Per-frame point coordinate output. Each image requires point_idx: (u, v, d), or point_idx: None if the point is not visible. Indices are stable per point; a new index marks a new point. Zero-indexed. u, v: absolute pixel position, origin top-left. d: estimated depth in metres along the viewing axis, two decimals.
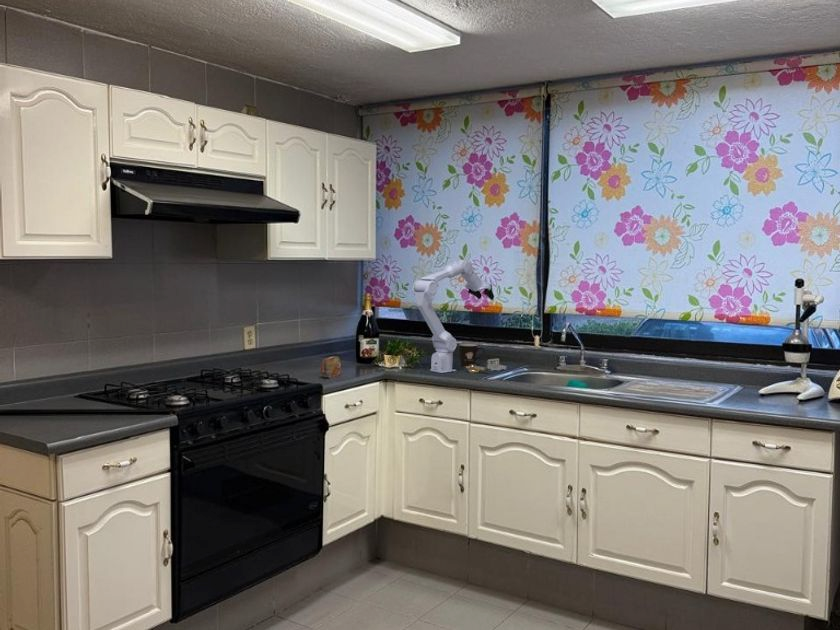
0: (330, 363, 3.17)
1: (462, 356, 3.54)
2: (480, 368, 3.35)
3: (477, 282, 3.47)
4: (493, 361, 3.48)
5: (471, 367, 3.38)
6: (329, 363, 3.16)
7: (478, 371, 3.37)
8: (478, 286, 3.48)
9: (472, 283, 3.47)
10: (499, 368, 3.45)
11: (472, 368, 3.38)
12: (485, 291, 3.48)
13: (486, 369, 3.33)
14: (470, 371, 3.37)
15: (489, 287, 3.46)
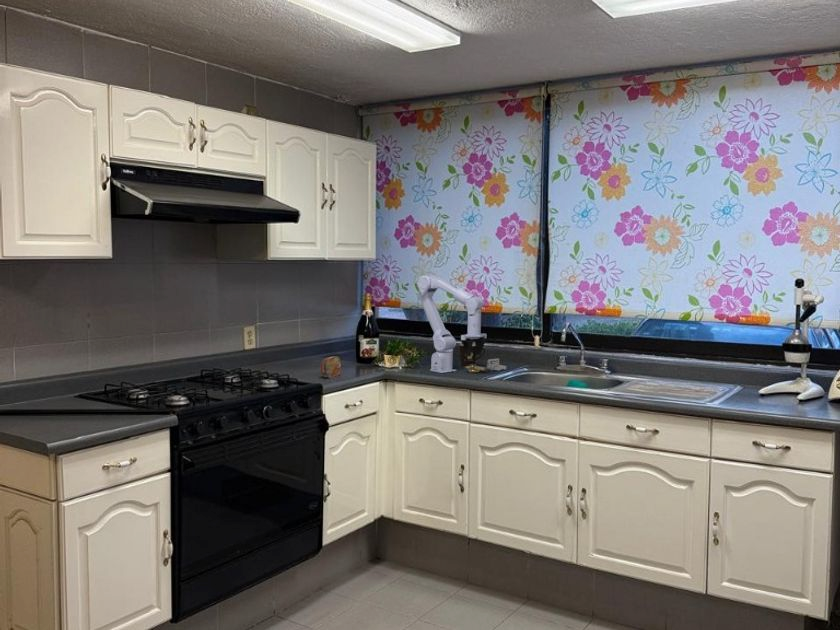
0: (330, 363, 3.17)
1: (462, 356, 3.54)
2: (480, 368, 3.35)
3: (468, 327, 3.29)
4: (493, 361, 3.48)
5: (471, 367, 3.38)
6: (329, 363, 3.16)
7: (478, 371, 3.37)
8: None
9: None
10: (499, 368, 3.45)
11: (472, 368, 3.38)
12: (463, 339, 3.28)
13: (486, 369, 3.33)
14: (470, 371, 3.37)
15: (462, 337, 3.25)
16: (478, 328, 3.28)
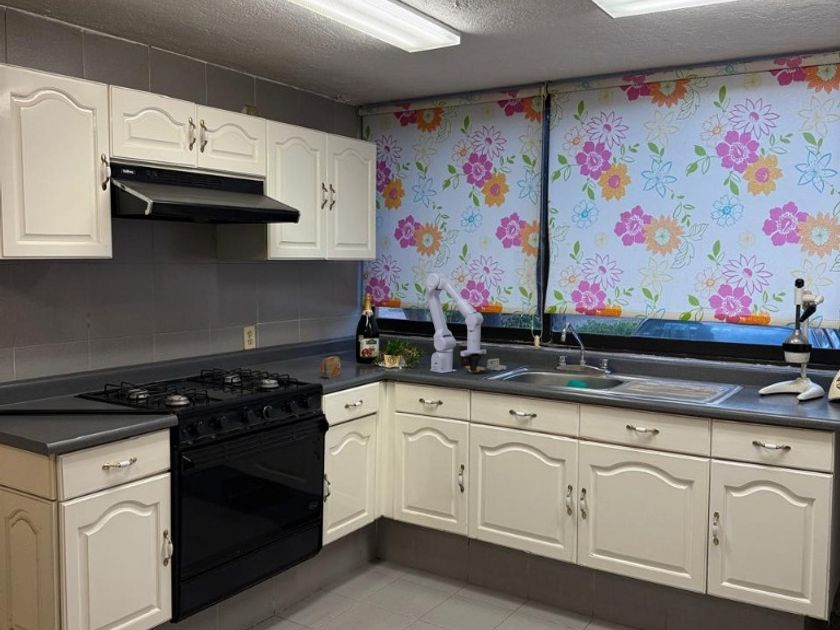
0: (330, 363, 3.17)
1: (462, 356, 3.54)
2: (480, 368, 3.35)
3: (468, 343, 3.29)
4: (493, 361, 3.48)
5: None
6: (329, 363, 3.16)
7: (478, 371, 3.37)
8: (467, 348, 3.30)
9: None
10: (499, 368, 3.45)
11: None
12: None
13: (486, 369, 3.33)
14: (470, 371, 3.37)
15: (461, 353, 3.26)
16: (478, 344, 3.28)
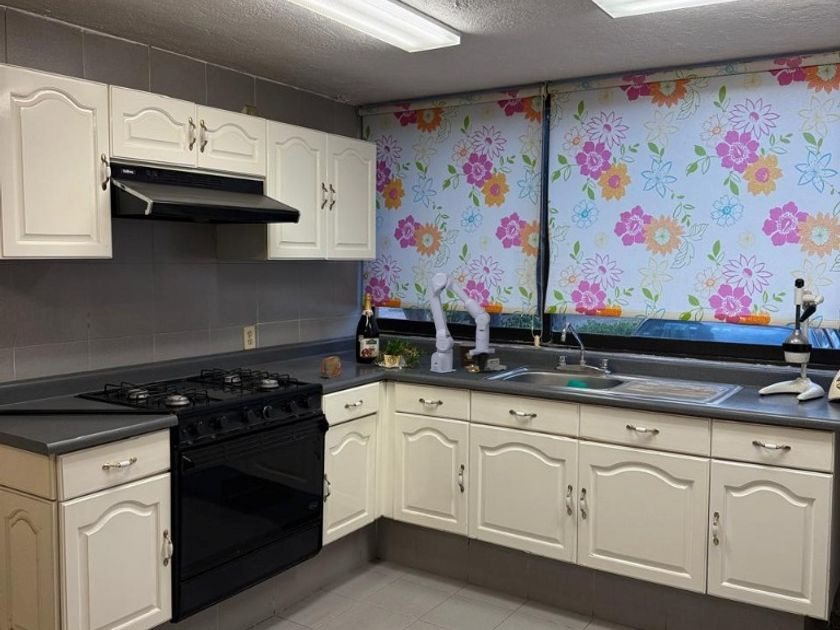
0: (330, 363, 3.17)
1: (462, 356, 3.54)
2: None
3: (477, 342, 3.33)
4: (493, 361, 3.48)
5: (471, 367, 3.38)
6: (329, 363, 3.16)
7: (479, 371, 3.38)
8: (476, 347, 3.34)
9: None
10: (499, 368, 3.45)
11: (472, 368, 3.38)
12: None
13: (488, 369, 3.33)
14: (471, 371, 3.37)
15: (470, 352, 3.30)
16: (486, 343, 3.32)
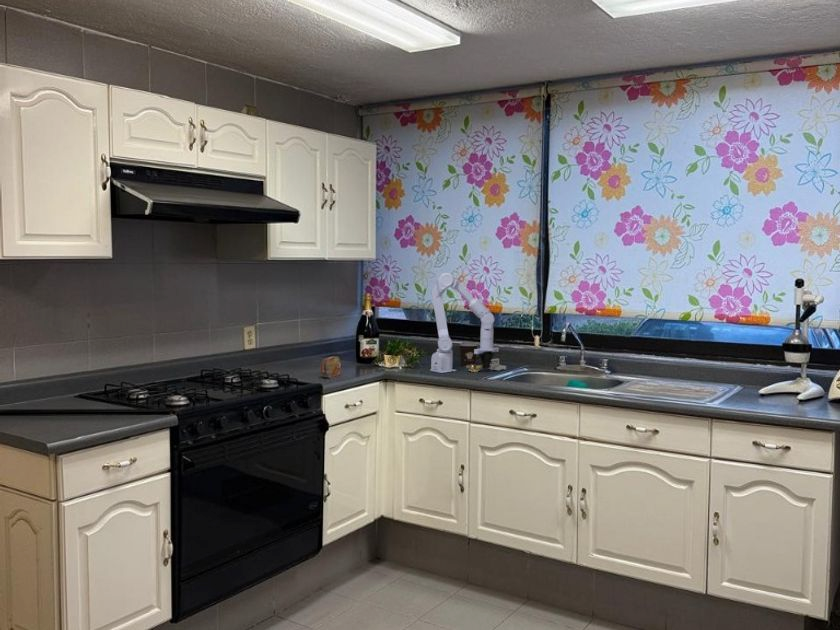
0: (330, 363, 3.17)
1: (462, 356, 3.54)
2: None
3: (481, 341, 3.37)
4: (493, 361, 3.48)
5: (474, 367, 3.38)
6: (329, 363, 3.16)
7: None
8: (480, 346, 3.38)
9: None
10: (499, 368, 3.45)
11: (475, 368, 3.39)
12: None
13: (490, 366, 3.42)
14: (477, 371, 3.38)
15: (475, 351, 3.34)
16: (491, 342, 3.37)
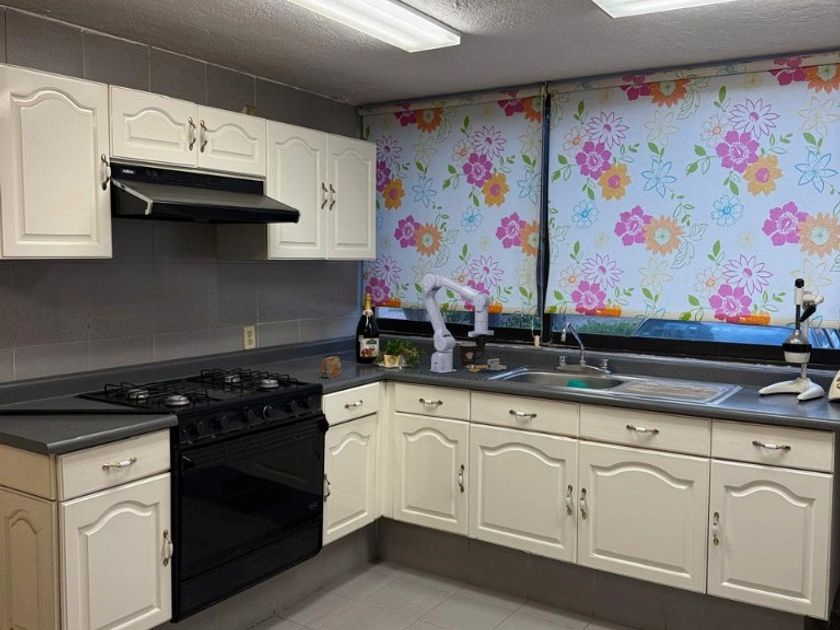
0: (330, 363, 3.17)
1: (462, 356, 3.54)
2: (483, 366, 3.41)
3: (475, 324, 3.28)
4: (493, 361, 3.48)
5: (474, 367, 3.38)
6: (329, 363, 3.16)
7: None
8: None
9: None
10: (499, 368, 3.45)
11: (475, 368, 3.39)
12: None
13: (490, 366, 3.42)
14: (477, 371, 3.38)
15: (469, 334, 3.25)
16: (485, 325, 3.27)
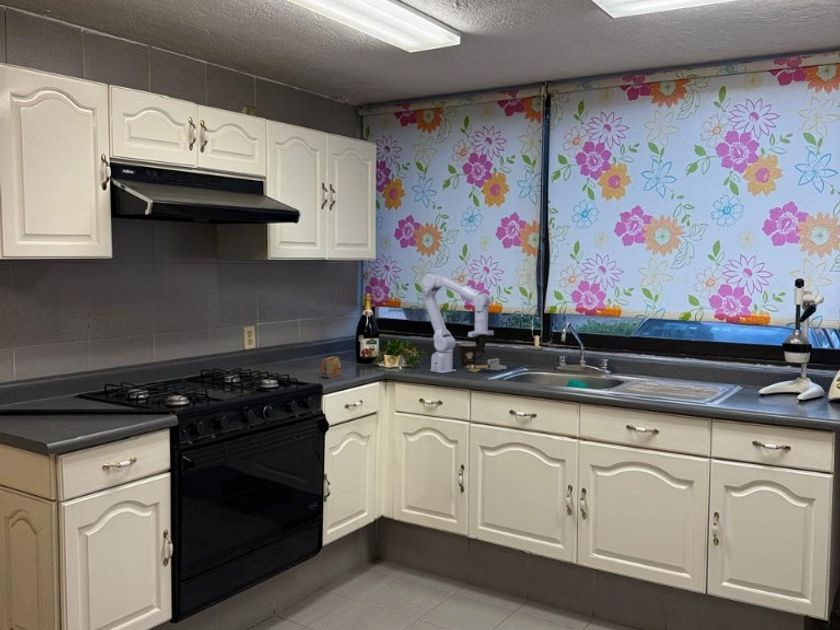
0: (330, 363, 3.17)
1: (462, 356, 3.54)
2: (483, 366, 3.41)
3: (475, 324, 3.28)
4: (493, 361, 3.48)
5: (474, 367, 3.38)
6: (329, 363, 3.16)
7: None
8: None
9: None
10: (499, 368, 3.45)
11: (475, 368, 3.39)
12: None
13: (490, 366, 3.42)
14: (477, 371, 3.38)
15: (469, 334, 3.25)
16: (485, 325, 3.27)
